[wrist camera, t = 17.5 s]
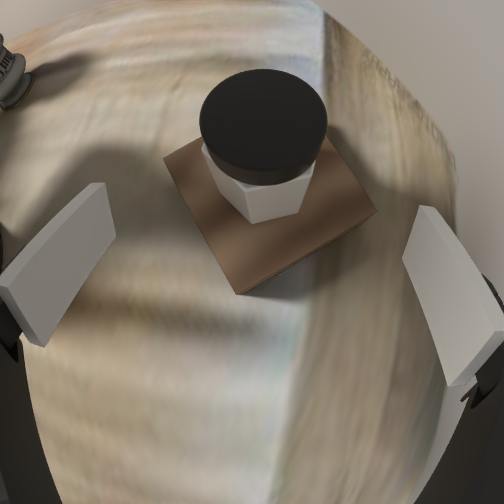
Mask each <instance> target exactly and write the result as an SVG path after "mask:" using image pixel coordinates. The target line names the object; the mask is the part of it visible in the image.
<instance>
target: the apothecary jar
mask: <svg viewBox="0 0 504 504" xmlns="http://www.w3.org/2000/svg"><path fill="white" fill-rule="evenodd" d="M25 66H26V61H25V58H24V56H23V55H21V54H18V53H15V54H12V53H11V52H9V51H8V50H7V49H6V48H5V47H4V46H3V36H2V34H0V102H1V103H0V107H1V110H2V111H4V112H6V111H7V110H9V109H13V108H15V107H16V106H17V105H18V104H19V103H20V102H21V101H22V100H23V99H24V98H25V96H26V95H27V94H28V92H29V91H30V89H31V87H32V84H33V81H34V75H33V74H32V73H30V72H28V73H24V71H25ZM23 73H24V74H23Z"/></svg>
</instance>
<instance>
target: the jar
mask: <svg viewBox="0 0 504 504" xmlns="http://www.w3.org/2000/svg"><path fill="white" fill-rule="evenodd" d="M199 125H200V131H201V135H202V138H203V140H204V143H203V146H202V148H201V151H202V153H203V155H204V158H205V160H206V162H207V164H208V167H209V169H210V171H211V174H212V176H213V178H214V180H215V183H216V185H217V187H218V189H219V192H220V193H221V194H222V195H223V196H224V197H225V198H226V199H227V200H228V201H229V202H230V203H231V204H232V205H233V206H234V207H235V208H236V209H237V210H238V211H239V212H240V213H241V214H242V215H243V216H244V217H245V218H246V219H247V220H248V221H249V222H250V223H251V224H256V223H260V222H264V221H268V220H272V219H276V218H280V217H284V216H288V215H292V214H296V213H298V212H299V210H300V208H301V205H302V202H303V199H304V197H305V194H306V191H307V188H308V186H309V183H310V180H311V177H312V175H313V170H314V166H315V162H316V158H317V157H318V154H319V152H320V149H321V146H322V143H323V140H324V139H325V135H326V131H327V112H326V109H325V106H324V103H323V101H322V100H321V98H320V96H319V95H318V93H317V92H316V91H315V90H314V89H313V88H312V87H311V86H310V85H309V84H307V83H306V82H305V81H303V80H302V79H300V78H298V77H296V76H294V75H292V74H289V73H286V72H283V71H278V70H272V69H255V70H248V71H244V72H240V73H238V74H235V75H233V76H230V77H229V78H227V79H225V80H224V81H222V82H221V83H219V84H218V85H217V86H216V87H215V88H214V89H213V90H212V91H211V92H210V93H209V95H208V96H207V97H206V99H205V101H204V103H203V105H202V108H201V111H200V119H199Z"/></svg>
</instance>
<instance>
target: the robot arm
mask: <svg viewBox="0 0 504 504" xmlns="http://www.w3.org/2000/svg"><path fill="white" fill-rule="evenodd" d="M116 236H117V235H116V231H115V227H114V223H113V218H112V214H111V209H110V205H109V200H108V195H107V190H106V185H105V183H90V184H89V185H88V186H87V187H86V188H85V189H83V190H82V191H81V192H80V193H79V194H78V195H77V196H76V197H75V198H73V199H72V200H71V201H70V202H69V203H68V204H67V205H66V206H65V207H64V208H63V209H62V210H61V211H60V212H59V213H58V214H57V215H55V216H54V217H53V218H52V219H51V220H50V221H49V222H48V223H47V224H46V225H45V226H44V227H43V228H42V230H41V231H40V232H39V233H38V234H37V235H36V236H35V237H34V238H33V239H32V240H31V241H30V242H29V243H28V244H27V245H25V246H24V247H23V248H22V249H21V250H20V252H19V253H18V254H17V255H16V257H14V258H13V259H12V261H11V262H10V264H8V265H7V266H6V268H5V269H4V270H3V271H2V272H1V274H0V504H62V501H61V499H60V496H59V494H58V491H57V489H56V486H55V484H54V481H53V478H52V475H51V473H50V470H49V467H48V464H47V461H46V457H45V454H44V451H43V448H42V444H41V441H40V437H39V433H38V429H37V425H36V421H35V417H34V413H33V408H32V403H31V398H30V393H29V387H28V382H27V375H26V368H25V361H24V353H23V345H22V342H21V340H20V339H19V336H20V335H21V333H22V332H23V333H24V335H25V336H26V338H27V339H28V340H29V342H30V343H33V344H35V345H38V346H41V347H44V348H45V346H46V344H47V343H48V341H49V339H50V337H51V336H52V334H53V332H54V330H55V329H56V327H57V325H58V324H59V322H60V320H61V319H62V317H63V315H64V314H65V312H66V310H67V309H68V307H69V305H70V304H71V302H72V301H73V299H74V298H75V296H76V294H77V293H78V291H79V290H80V288H81V287H82V285H83V284H84V282H85V281H86V279H87V278H88V276H89V275H90V273H91V272H92V270H93V269H94V267H95V266H96V264H97V263H98V261H99V260H100V259H101V257H102V256H103V254H104V253H105V251H106V250H107V249H108V247H109V246H110V245H111V243H112V242H113V240H114V239H115V238H116ZM402 261H403V263H404V265H405V267H406V270H407V272H408V274H409V277H410V279H411V282H412V284H413V286H414V289H415V291H416V294H417V296H418V299H419V302H420V304H421V307H422V309H423V312H424V315H425V317H426V320H427V323H428V326H429V329H430V331H431V334H432V337H433V340H434V343H435V346H436V349H437V352H438V355H439V359H440V362H441V365H442V369H443V372H444V375H445V379H446V382H447V386H448V387H454V386H461V385H465V384H466V383H467V382H468V381H469V380H470V379H471V378H472V377H473V376H474V375H476V378H477V381H478V382H477V383H476V384H475V385H474V386H473V387H472V388H471V389H470V390H469V391H468V392H467V393H466V394H465V395H464V396H463V397H462V399H461V400H460V401H461V402H463V401H464V400H465V399H466V398H467V397H469V399H468V401H467V403H466V406H465V409H464V411H463V413H462V416H461V418H460V420H459V423H458V425H457V427H456V429H455V431H454V434H453V436H452V438H451V440H450V442H449V444H448V446H447V448H446V450H445V452H444V454H443V456H442V458H441V459H440V461H439V463H438V465H437V467H436V469H435V470H434V472H433V474H432V476H431V477H430V479H429V481H428V482H427V484H426V486H425V487H424V489H423V491H422V492H421V494H420V495H419V497H418V498H417V500H416V501H415V503H414V504H504V305H503V302H502V300H501V299H500V297H499V296H498V293H497V291H496V290H495V288H494V286H493V285H492V283H491V282H490V281H489V280H488V279H487V278H486V277H485V276H484V275H483V274H481V273H480V272H479V270H478V268H477V267H476V265H475V264H474V262H473V261H472V259H471V258H470V256H469V254H468V253H467V252H466V250H465V249H464V247H463V246H462V244H461V243H460V241H459V240H458V238H457V237H456V235H455V234H454V233H453V231H452V230H451V228H450V227H449V226H448V224H447V223H446V222H445V220H444V219H443V218H442V216H441V215H440V214H439V212H438V211H437V210H436V208H435V207H430V206H424V205H420V206H419V209H418V212H417V215H416V218H415V221H414V224H413V227H412V230H411V233H410V236H409V239H408V242H407V245H406V248H405V250H404V253H403V256H402ZM1 264H2V242H1V236H0V271H1Z"/></svg>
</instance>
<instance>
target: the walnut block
mask: <svg viewBox="0 0 504 504" xmlns="http://www.w3.org/2000/svg"><path fill="white" fill-rule="evenodd" d="M203 143H204V140H203V138H202V137H200V138H198V139H196V140H194V141H193V142H191V143H189V144H187V145H185V146H184V147H182V148H180V149H178V150H177V151H175V152H173V153H171V154H170V155H168V156H166V157H165V158H163V160H164V162H165V164H166V166H167V168H168V170H169V172H170V174H171V176H172V178H173V180H174V182H175V184H176V186H177V187H178V189H179V191H180V193H181V195H182V197H183V199H184V201H185V203H186V205H187V206H188V208H189V210H190V212H191V214H192V216H193V218H194V219H195V221H196V223H197V225H198V227H199V229H200V231H201V232H202V234H203V236H204V238H205V240H206V242H207V243H208V245H209V247H210V249H211V251H212V253H213V254H214V256H215V258H216V260H217V262H218V263H219V265H220V267H221V269H222V271H223V272H224V274H225V276H226V278H227V280H228V281H229V283H230V285H231V287H232V288H233V290H234V292H235V294H236V295H242V294H244V293H246V292H247V291H249V290H251V289H253V288H254V287H256V286H258V285H260V284H261V283H263V282H265V281H267V280H268V279H270V278H272V277H274V276H275V275H277V274H279V273H280V272H282V271H284V270H286V269H287V268H289V267H291V266H292V265H294V264H296V263H297V262H299V261H301V260H303V259H304V258H306V257H308V256H309V255H311V254H313V253H314V252H316V251H318V250H319V249H321V248H323V247H324V246H326V245H328V244H329V243H331V242H333V241H334V240H336V239H338V238H339V237H341V236H343V235H344V234H346V233H348V232H349V231H351V230H352V229H354V228H356V227H357V226H359V225H361V224H362V223H363V222H364V221H365V220H367V219H368V218H369V217H370V216H372V215H373V214H374V213H375V212H377V209H376V208H375V206H374V205H373V203H372V202H371V200H370V198H369V197H368V195H367V194H366V192H365V191H364V189H363V188H362V186H361V185H360V183H359V182H358V180H357V179H356V177H355V176H354V174H353V173H352V171H351V170H350V169H349V167H348V166H347V164H346V163H345V161H344V160H343V159H342V157H341V156H340V154H339V153H338V152H337V150H336V149H335V147H334V146H333V145H332V143H331V142H330V141H329V139H328V138H327V137H326V135H325V139H324V140H323V143H322V146H321V149H320V152H319V154H318V157H317V158H316V162H315V166H314V170H313V175H312V177H311V180H310V183H309V186H308V188H307V191H306V194H305V197H304V199H303V202H302V205H301V208H300V210H299V212H298V213H296V214H292V215H288V216H284V217H280V218H276V219H272V220H268V221H264V222H260V223H256V224H251V223H250V222H249V221H248V220H247V219H246V218H245V217H244V216H243V215H242V214H241V213H240V212H239V211H238V210H237V209H236V208H235V207H234V206H233V205H232V204H231V203H230V202H229V201H228V200H227V199H226V198H225V197H224V196H223V195H222V194H221V193H220V192H219V189H218V187H217V185H216V183H215V180H214V178H213V176H212V174H211V171H210V169H209V167H208V164H207V162H206V160H205V158H204V155H203V153H202V151H201V148H202V146H203Z"/></svg>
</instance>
